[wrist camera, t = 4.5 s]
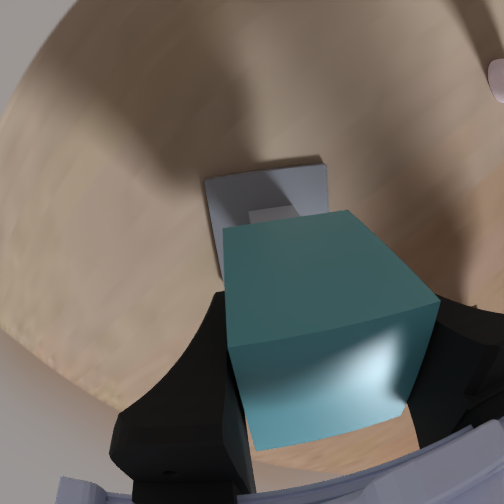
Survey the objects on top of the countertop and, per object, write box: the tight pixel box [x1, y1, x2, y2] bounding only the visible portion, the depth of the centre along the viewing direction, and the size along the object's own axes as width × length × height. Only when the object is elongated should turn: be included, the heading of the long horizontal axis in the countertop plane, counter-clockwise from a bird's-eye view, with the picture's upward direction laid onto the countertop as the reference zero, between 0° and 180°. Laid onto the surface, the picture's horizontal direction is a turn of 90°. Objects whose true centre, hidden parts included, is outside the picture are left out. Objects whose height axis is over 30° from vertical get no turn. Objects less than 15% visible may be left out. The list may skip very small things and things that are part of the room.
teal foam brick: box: [223, 210, 441, 451], centre depth 10 cm, size 5×5×7 cm
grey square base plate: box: [204, 163, 329, 287], centre depth 16 cm, size 7×7×6 cm
